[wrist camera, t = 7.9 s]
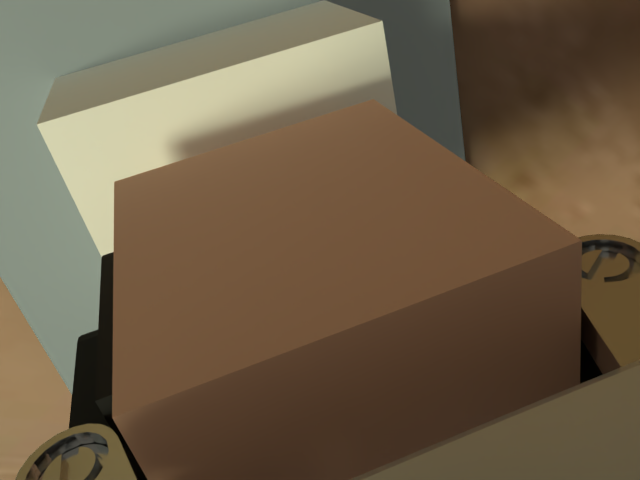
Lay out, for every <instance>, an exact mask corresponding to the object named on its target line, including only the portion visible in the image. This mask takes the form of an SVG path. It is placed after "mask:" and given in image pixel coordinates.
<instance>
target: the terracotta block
mask: <svg viewBox="0 0 640 480" xmlns="http://www.w3.org/2000/svg"><path fill="white" fill-rule="evenodd" d="M581 278H582V240H581V239H579V238H578V237H576V236H575V235H573V234H572V233H570V232H569V231H567V230H566V229H564V228H563V227H561V226H560V225H558V224H557V223H556V222H554V221H553V220H551V219H550V218H548V217H547V216H545V215H544V214H542V213H541V212H539V211H538V210H536V209H535V208H533V207H532V206H530V205H529V204H528V203H526V202H525V201H523V200H522V199H520V198H519V197H517V196H516V195H514V194H513V193H511V192H510V191H508V190H507V189H505V188H504V187H502V186H501V185H499V184H498V183H497V182H495V181H494V180H492V179H491V178H489V177H488V176H486V175H485V174H483V173H482V172H480V171H479V170H477V169H476V168H474V167H473V166H471V165H470V164H469V163H467V162H466V161H464V160H463V159H461V158H460V157H458V156H457V155H455V154H454V153H452V152H451V151H449V150H448V149H446V148H445V147H443V146H442V145H440V144H439V143H438V142H436V141H435V140H433V139H432V138H430V137H429V136H427V135H426V134H424V133H423V132H421V131H420V130H418V129H417V128H415V127H414V126H412V125H411V124H410V123H408V122H407V121H405V120H404V119H402V118H401V117H399V116H398V115H396V114H395V113H393V112H392V111H390V110H389V109H387V108H386V107H384V106H383V105H381V104H380V103H379V102H377V101H376V100H374V99H372V100H369V101H366V102H362V103H359V104H356V105H353V106H350V107H347V108H344V109H340V110H337V111H334V112H331V113H328V114H325V115H322V116H319V117H315V118H312V119H309V120H306V121H303V122H300V123H297V124H293V125H290V126H287V127H284V128H281V129H278V130H275V131H272V132H268V133H265V134H262V135H259V136H256V137H253V138H250V139H247V140H243V141H240V142H237V143H234V144H231V145H228V146H225V147H221V148H218V149H215V150H212V151H209V152H206V153H203V154H200V155H196V156H193V157H190V158H187V159H184V160H181V161H178V162H174V163H171V164H168V165H165V166H162V167H159V168H156V169H153V170H149V171H146V172H143V173H140V174H137V175H134V176H131V177H128V178H124V179H121V180H118V181H115V182H114V262H113V373H112V418H113V420H114V422H115V424H116V425H117V427H118V429H119V431H120V432H121V434H122V436H123V438H124V439H125V441H126V443H127V445H128V446H129V448H130V450H131V451H132V453H133V455H134V457H135V458H136V460H137V462H138V464H139V465H140V467H141V469H142V471H143V472H144V474H145V476H146V478H147V479H148V480H350V479H352V478H354V477H357V476H359V475H362V474H364V473H366V472H369V471H371V470H374V469H376V468H378V467H381V466H383V465H386V464H388V463H390V462H393V461H395V460H398V459H400V458H402V457H405V456H407V455H410V454H412V453H414V452H417V451H419V450H421V449H424V448H426V447H429V446H431V445H433V444H436V443H438V442H441V441H443V440H445V439H448V438H450V437H453V436H455V435H457V434H460V433H462V432H465V431H467V430H470V429H472V428H474V427H477V426H479V425H482V424H484V423H486V422H489V421H491V420H494V419H496V418H498V417H501V416H503V415H506V414H508V413H510V412H513V411H515V410H518V409H520V408H522V407H525V406H527V405H530V404H532V403H535V402H537V401H539V400H542V399H544V398H547V397H549V396H552V395H554V394H557V393H559V392H561V391H564V390H566V389H569V388H571V387H574V386H576V385H578V384H580V354H581Z"/></svg>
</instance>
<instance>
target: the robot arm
mask: <svg viewBox="0 0 640 480" xmlns="http://www.w3.org/2000/svg"><path fill="white" fill-rule="evenodd" d="M578 238H579V239H581V240H582V278H581V354H580V384H578V385H576V386H574V387H571V388H569V389H566V390H564V391H561V392H559V393H557V394H554V395H552V396H549V397H547V398H544V399H542V400H539V401H537V402H535V403H532V404H530V405H527V406H525V407H522V408H520V409H518V410H515V411H513V412H510V413H508V414H506V415H503V416H501V417H498V418H496V419H494V420H491V421H489V422H486V423H484V424H482V425H479V426H477V427H474V428H472V429H470V430H467V431H465V432H462V433H460V434H457V435H455V436H453V437H450V438H448V439H445V440H443V441H441V442H438V443H436V444H433V445H431V446H429V447H426V448H424V449H421V450H419V451H417V452H414V453H412V454H410V455H407V456H405V457H402V458H400V459H398V460H395V461H393V462H390V463H388V464H386V465H383V466H381V467H378V468H376V469H374V470H371V471H369V472H366V473H364V474H362V475H359V476H357V477H354V478H352V479H350V480H640V242H637V241H635V240H632V239H630V238H626V237H622V236H617V235H605V234H596V235H587V236H582V237H578ZM113 262H114V252H112V253H109V254H106V255H103V256H102V258H101V280H100V302H99V324H98V330H95V331H92V332H89V333H86V334H83V335H81V336H80V337H78V341H77V349H76V360H75V370H74V381H73V392H72V402H71V413H70V423H69V429H67V430H65V431H63V432H61V433H59V434H57V435H55V436H54V437H52V438H51V439H49V440H48V441H46V442H45V443H43V444H42V445H41V446H40V447H39V448H38V449H37V450H36V451H35V452H34V453H33V454H32V455H30V456H29V458H28V459H27V460H26V462H25V463H24V465H23V466H22V467H21V469H20V470H19V472H18V475H17V477H16V479H15V480H148V479H147V478H146V476H145V474H144V472H143V471H142V469H141V467H140V465H139V464H138V462H137V460H136V458H135V457H134V455H133V453H132V451H131V450H130V448H129V446H128V445H127V443H126V441H125V439H124V438H123V436H122V434H121V432H120V431H119V429H118V427H117V425H116V424H115V422H114V420H113V418H112V373H113Z"/></svg>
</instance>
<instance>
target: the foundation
mask: <svg viewBox="0 0 640 480" xmlns="http://www.w3.org/2000/svg"><path fill="white" fill-rule="evenodd" d="M372 99H374V100H376V101H377V102H379V103H380V104H381V105H383V106H384V107H386V108H387V109H389V110H390V111H392V112H393V113H395V114H396V115H398V116H399V117H401V118H402V119H404V120H405V121H407V122H408V123H410V124H411V125H412V126H414V127H415V128H417V129H418V130H420V131H421V132H423V133H424V134H426V135H427V136H429V137H430V138H432V139H433V140H435V141H436V142H438V143H439V144H440V145H442V146H443V147H445V148H446V149H448V150H449V151H451V152H452V153H454V154H455V155H457V156H458V157H460V158H461V159H463V160H464V161H465V152H464V142H463V132H462V122H461V112H460V102H459V92H458V82H457V72H456V61H455V51H454V41H453V31H452V21H451V11H450V1H449V0H0V277H1V279H2V280H3V282H4V284H5V285H6V287H7V289H8V290H9V292H10V293H11V295H12V297H13V298H14V300H15V302H16V303H17V305H18V307H19V308H20V310H21V312H22V313H23V315H24V316H25V318H26V320H27V321H28V323H29V325H30V326H31V328H32V330H33V331H34V333H35V335H36V336H37V338H38V340H39V341H40V343H41V344H42V346H43V348H44V349H45V351H46V353H47V354H48V356H49V358H50V359H51V361H52V363H53V364H54V366H55V368H56V369H57V371H58V372H59V374H60V376H61V377H62V379H63V381H64V382H65V384H66V386H67V387H68V389H69V391H70V392H71V394H72V392H73V381H74V370H75V360H76V349H77V341H78V337H80V336H81V335H83V334H86V333H89V332H92V331H95V330H98V324H99V302H100V280H101V258H102V256H103V255H106V254H109V253H112V252H114V182H115V181H118V180H121V179H124V178H128V177H131V176H134V175H137V174H140V173H143V172H146V171H149V170H153V169H156V168H159V167H162V166H165V165H168V164H171V163H174V162H178V161H181V160H184V159H187V158H190V157H193V156H196V155H200V154H203V153H206V152H209V151H212V150H215V149H218V148H221V147H225V146H228V145H231V144H234V143H237V142H240V141H243V140H247V139H250V138H253V137H256V136H259V135H262V134H265V133H268V132H272V131H275V130H278V129H281V128H284V127H287V126H290V125H293V124H297V123H300V122H303V121H306V120H309V119H312V118H315V117H319V116H322V115H325V114H328V113H331V112H334V111H337V110H340V109H344V108H347V107H350V106H353V105H356V104H359V103H362V102H366V101H369V100H372Z"/></svg>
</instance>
